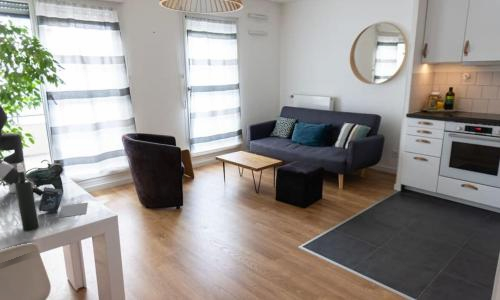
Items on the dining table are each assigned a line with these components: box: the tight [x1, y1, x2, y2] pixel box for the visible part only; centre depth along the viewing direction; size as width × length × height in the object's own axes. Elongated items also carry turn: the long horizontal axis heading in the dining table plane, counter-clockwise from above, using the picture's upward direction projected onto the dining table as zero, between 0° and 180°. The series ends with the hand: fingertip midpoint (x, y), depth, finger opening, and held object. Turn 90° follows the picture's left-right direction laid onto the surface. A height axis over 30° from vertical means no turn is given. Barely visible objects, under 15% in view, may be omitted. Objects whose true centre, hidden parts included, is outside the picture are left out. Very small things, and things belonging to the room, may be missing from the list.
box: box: [38, 186, 64, 213], centre depth 161 cm, size 8×6×11 cm
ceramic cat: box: [25, 159, 64, 196], centre depth 180 cm, size 20×6×20 cm, turn 136°
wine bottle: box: [15, 163, 40, 232], centre depth 143 cm, size 6×6×30 cm
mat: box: [57, 202, 89, 219], centre depth 165 cm, size 14×12×1 cm
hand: (42, 194), depth 159 cm, fingers closed
